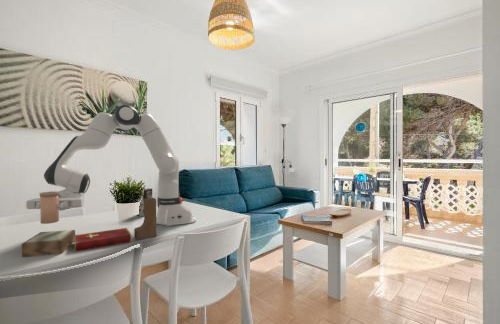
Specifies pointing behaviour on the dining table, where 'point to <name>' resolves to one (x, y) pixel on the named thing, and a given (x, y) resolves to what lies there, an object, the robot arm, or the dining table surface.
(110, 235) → the hardcover book
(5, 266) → the dining table surface
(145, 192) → the coffee box
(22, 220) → the dining table surface
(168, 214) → the robot arm
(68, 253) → the dining table surface
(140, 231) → the wooden block
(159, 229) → the dining table surface
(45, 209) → the terracotta jar
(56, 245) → the walnut pedestal
